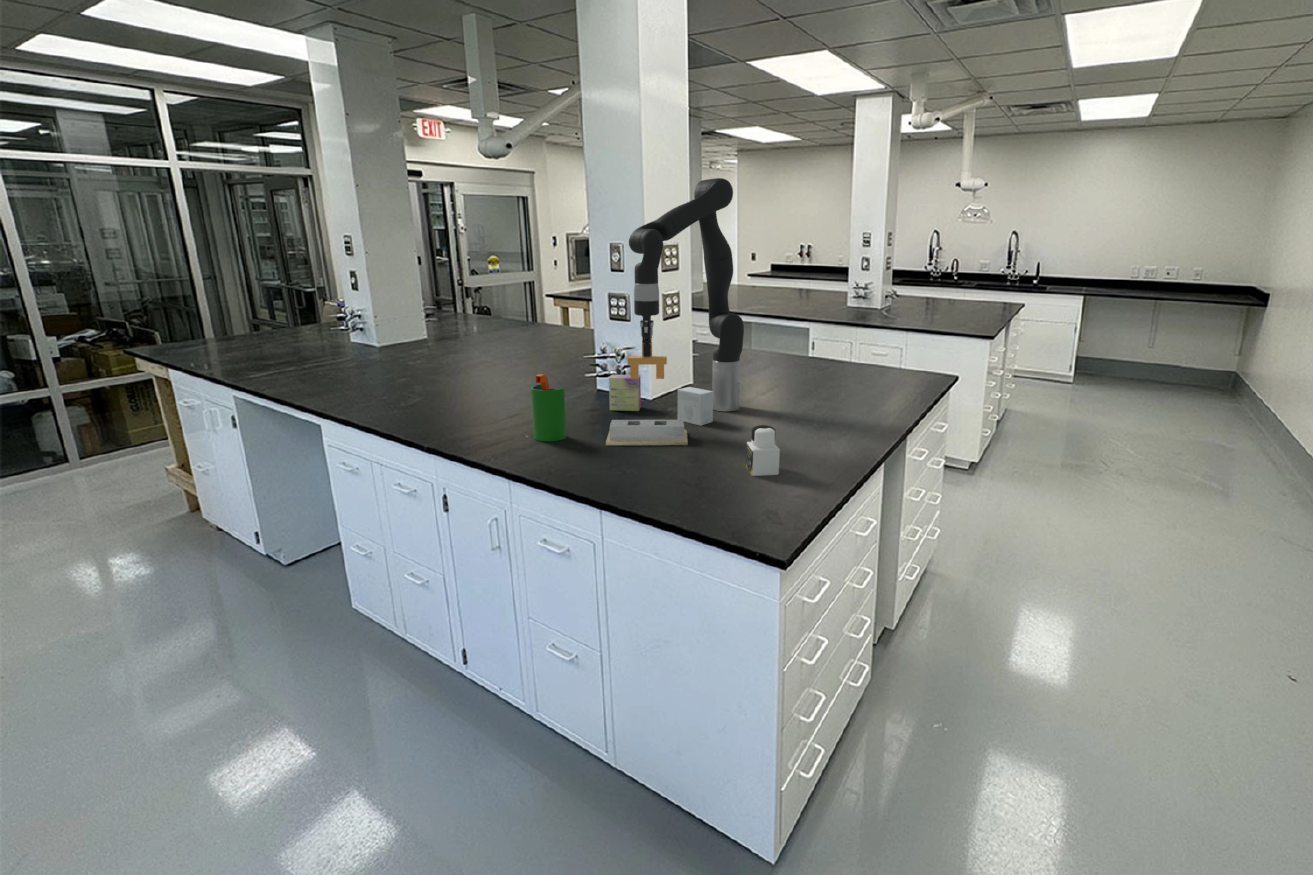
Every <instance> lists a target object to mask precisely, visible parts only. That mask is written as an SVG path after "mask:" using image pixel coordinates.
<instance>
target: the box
mask: <svg viewBox="0 0 1313 875" xmlns="http://www.w3.org/2000/svg"><path fill="white" fill-rule="evenodd" d="M641 385H642V384H641V375H640V374H639V378H638V379H631V378H630V374H610V376H609V377H608V391H609V392H608V396H609V411H623V412H625V411H626V412H639V411H640V409H641V407H642V406H641V405H642V403H641V402H642V401H641V399H642V398H641V397H642V396H641V395H642V394H641V392H642V389H641Z"/></svg>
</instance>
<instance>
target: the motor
mask: <svg viewBox="0 0 1313 875" xmlns="http://www.w3.org/2000/svg"><path fill="white" fill-rule="evenodd" d="M535 383H536V384H535V385H532V386H531V387H530V393H531V394H530V396H531V411H532V413H531V414H532V427H533V439H534V440H536V441H539V442H557V441H558V442H559V441H562V440H565V439H567V418H566V403H565V402H566V400H565V387H559V388H550V385H549V384H550V383H549V379H548V376H547V374H544V373H543V374H542V373H538V374H537V375H535Z"/></svg>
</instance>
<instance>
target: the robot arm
mask: <svg viewBox="0 0 1313 875" xmlns="http://www.w3.org/2000/svg"><path fill="white" fill-rule="evenodd" d="M733 195H734V189H733V186H732V183H731V182H730V181H729V180H727V179H725V178H722V177H716V178H709V179H703V180H699V182H698V183H697V184H696V185H695V189H694V196H693V197H694V199H691V200H689V201H687V202H685V203H682V204H680V205H678V206H675V207H673V208H672V209H670V210H669V211H667V212H665V213H664V214H662V215H661V216H660V217H658V218H657V219H655V220H653V221H650V222H647V223H646V224H644V225H641V226H639V227H637V228H635V230H633V231H632V233H630V235H629V237H628V238H629V239H628V246H629V248H630V250H631V251H632V252H633V253H635V254H640V255H642V260H641V262H638V263H637V264H635V266H634V286H633V287H634V288H633V299H634V300H633V302H634V304H633V305H634V306H633V310H634V315H635V316H641V317H642V320H640V322H639V326H640V336H641V337H642V338H641V344H642V343H643V356H644V357H650V356H651V342H652V341H653V340H652V339H653V333H654V319H653V320H652V317H653V316H658V315H659V314H660V289H659V288H660V287H659V266H660V264H661V258H662V255H663V250H664V242H667V241H669V240H671V239H673V238H674V237H676V236H677V235H678V234H680V233H682V232H683V231H684V230H685V229H687V228H689V227H690V226H692V225H693V224H695V223H697V222H698V224H699V229H700V230H699V231H700V236H701V243H702V244H701V245H702V249H703V250H702V251H703V261H704V262H703V263H704V269H705V271H704V272H705V280H706V286H707V297H708V327H709V331H710V333H711V335H712V336H713V337H715V338H717V339H719V345H718V348H717V349H716V350H714V351H712V352H713V353H712V375H711V376H712V377H711V378H712V380H711V382H712V383H711V384H712V386H711V387H712V388H711V389H712V390H711V391H713V411H717V412H734V411H740V393H741V391H740V390H741V389H740V388H741V384H740V362H741V361H740V360H741V355H742V352H743V346H744V334H745V326H744V320H743V319H742V317H741V315H739V314H737V313H733V312H730V307H729V290H730V287H731V283H732V280H733V278H734V277H733V276H734V275H733V274H734V260H733V253H732V249H731V246H730V244H729V242H728V240H727V239H726V237H725V236H724V234H723V232H722V230H721V228H720V226H719V222H718V218H717V211H720V210H722V209H725V208H727V207H728V206H729V205H730V204H731V202H732V200H733Z"/></svg>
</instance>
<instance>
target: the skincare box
mask: <svg viewBox="0 0 1313 875" xmlns="http://www.w3.org/2000/svg"><path fill="white" fill-rule="evenodd" d="M713 417H714V409H713V391H712V390H708V389H703V388H698V387H697V388H696V387H693V386H687V387H683V388H679V389H677V419H676V420H684V423H688V424H691V425H692V424H693V425H697V426H701V427H702V426H704V425H707V424H711V423H713V422H714V420H713V419H714V418H713Z"/></svg>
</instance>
